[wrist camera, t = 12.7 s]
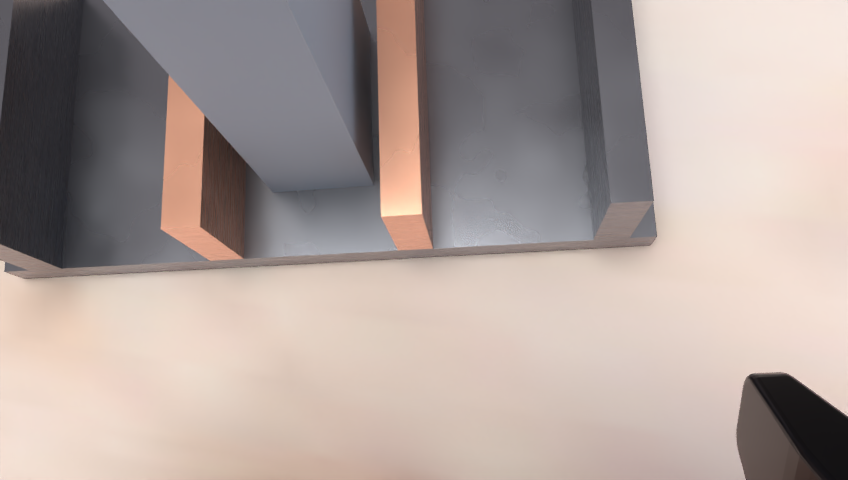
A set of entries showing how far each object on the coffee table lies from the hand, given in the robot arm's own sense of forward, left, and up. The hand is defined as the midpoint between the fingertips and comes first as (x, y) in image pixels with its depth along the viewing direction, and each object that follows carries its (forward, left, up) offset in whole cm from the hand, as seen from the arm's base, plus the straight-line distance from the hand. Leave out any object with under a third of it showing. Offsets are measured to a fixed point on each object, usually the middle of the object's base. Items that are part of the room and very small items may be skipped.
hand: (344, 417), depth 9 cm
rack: (+10, +3, -14) cm, 17 cm away
